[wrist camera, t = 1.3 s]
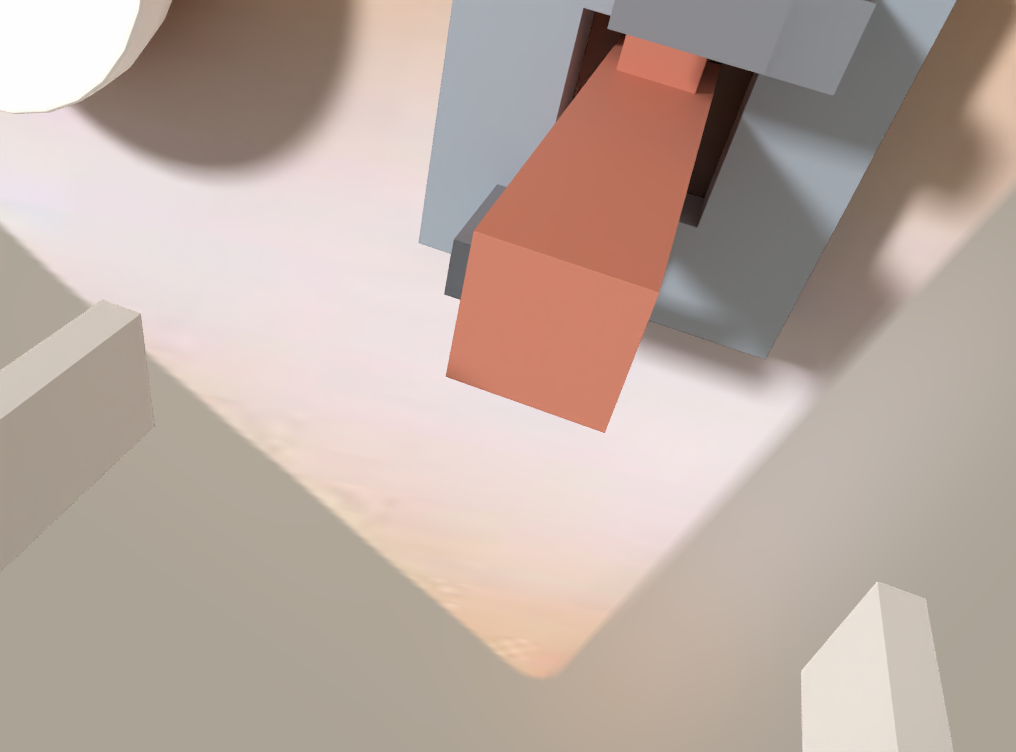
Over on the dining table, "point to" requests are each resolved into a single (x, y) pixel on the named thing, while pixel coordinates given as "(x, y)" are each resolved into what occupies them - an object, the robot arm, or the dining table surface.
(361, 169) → the dining table surface
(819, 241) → the eye block
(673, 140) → the orange tabbed bar
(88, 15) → the bowl
